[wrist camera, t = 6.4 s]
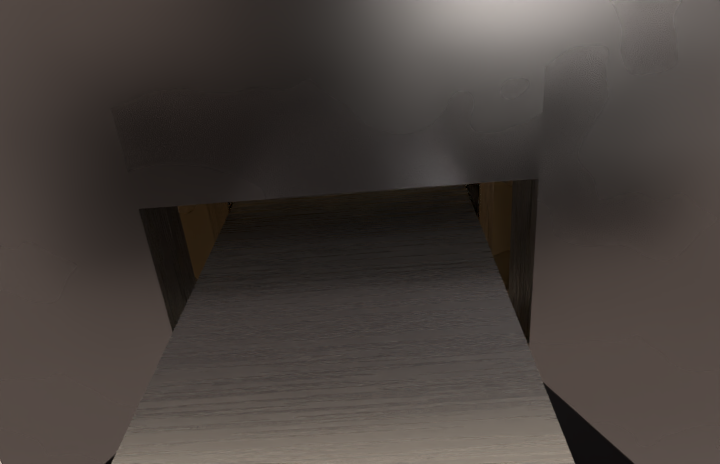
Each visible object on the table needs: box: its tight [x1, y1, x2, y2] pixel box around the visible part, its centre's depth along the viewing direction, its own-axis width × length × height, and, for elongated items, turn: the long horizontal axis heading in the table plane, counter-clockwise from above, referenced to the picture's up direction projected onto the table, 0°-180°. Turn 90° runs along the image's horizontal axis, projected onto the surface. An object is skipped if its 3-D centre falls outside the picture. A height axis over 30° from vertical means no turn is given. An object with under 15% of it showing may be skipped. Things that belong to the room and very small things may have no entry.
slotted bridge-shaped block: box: [0, 0, 720, 464], centre depth 12 cm, size 13×12×4 cm
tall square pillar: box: [111, 184, 575, 464], centre depth 8 cm, size 4×4×11 cm
